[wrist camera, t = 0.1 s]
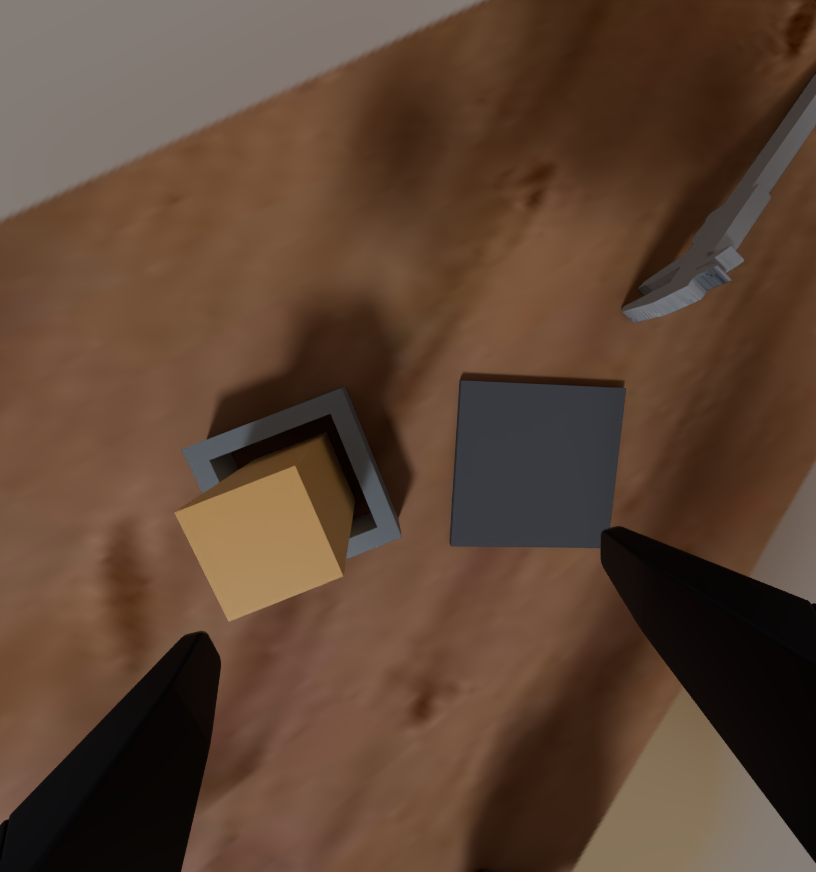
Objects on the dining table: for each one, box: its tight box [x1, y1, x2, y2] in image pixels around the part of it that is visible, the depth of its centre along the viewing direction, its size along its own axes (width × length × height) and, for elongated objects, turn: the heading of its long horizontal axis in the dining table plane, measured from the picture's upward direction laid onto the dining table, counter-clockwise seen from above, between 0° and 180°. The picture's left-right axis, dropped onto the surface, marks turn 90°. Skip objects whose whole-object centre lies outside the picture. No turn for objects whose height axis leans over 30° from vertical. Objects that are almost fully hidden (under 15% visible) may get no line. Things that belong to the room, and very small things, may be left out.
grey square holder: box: [182, 387, 402, 559], centre depth 23 cm, size 8×8×3 cm
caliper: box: [622, 74, 816, 322], centre depth 21 cm, size 20×1×6 cm, turn 141°
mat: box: [450, 380, 626, 548], centre depth 25 cm, size 10×10×1 cm
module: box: [174, 432, 355, 621], centre depth 19 cm, size 4×4×10 cm
